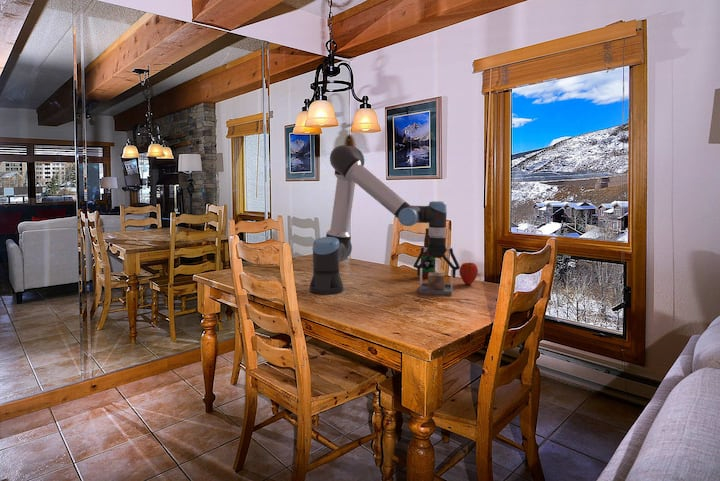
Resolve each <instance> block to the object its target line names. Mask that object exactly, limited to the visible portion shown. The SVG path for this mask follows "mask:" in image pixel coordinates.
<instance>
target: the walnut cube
mask: <svg viewBox="0 0 720 481" xmlns="http://www.w3.org/2000/svg"><path fill="white" fill-rule="evenodd" d="M427 283H428V290H436V291H444V284H445V273H444V272H435V273H432V272H429V274H428V279H427Z"/></svg>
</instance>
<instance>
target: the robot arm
mask: <svg viewBox="0 0 720 481" xmlns="http://www.w3.org/2000/svg"><path fill="white" fill-rule="evenodd" d="M329 161H330V165H331V166H332V168H333V169H334V176H335V178H336V185H335V191H334V192H335V194H334V201H333V207H332V213H331V221H330V229H329V230H328V231H326V236H323V237H319V238H316V239H314V240H313V242H312V248H311V249H312V270H313V272H312V276H311V280H310V283H309V292H310V293H312V294H318V295H334V294H338V293H339V294H340V293H342V292H344V284H343V281H342V277H341V274H340V263H342V262H344V261H345V260H347V259H348V258H349V256H350V255H351V253H352V250H353V246H352V242H351V238H352V235H351V234H350V232H349V230H350V223H351V217H352V211H353V210H352V208H353V203H354V202H353V201H354V193H355V188H356V185H357V186H359V187H360V188H361V189H362V190H363V191H365V192H366V193H367V194H368V195H370V196H371V197H372V198H373V199H374V200H376V202H378V203H379V204H380V205H381V206H383V207H384V208H385V209H386V210H387V211H388V212H390V213H391V214H392V215H393V216H395V217H396V218H397V219H398V222H399V223H400V224H401V225H402V226H404V227H412V226H414V225H416V224H428V228H429V236H430V237H429V241H428V248H425V247H424V246H422V247H421V248H420V253H419V255H418V256H417V258H416V261H415V262H414V263H413V268H415V269H416V270H417V272H416V274H417V276H418V277H419V284H420V285H421V284H422V283H423V278H422V268H421V267H422V266H423V265H424V264H425V262H426V261H427V260H428V259H429V258H430V257H433V258H435V259H436V258H438V259H440V258H442V259H443V260H444V261H445V262H446V264H448V265H449V267H450V268H451V269H450V284H451V285H453V283H454V282H453V281H454V280H453V278H454V279H455V278H456V271H457V270H460V267H461V265H460V264H459V262H458V260H457V258H456V255H455V254H454V249H453V247H449V248H447V247H446V245H447V242H446V241H447V240H446V239H447V238H446V235H447V214H448V213H447V203H446V202H445V201H439V200H438V201H434V200H432V201H429V204H428V205H411V204H410V203H408V202H407V201H406V200H405V199H403V198H402V197H401V196H400V195H398V194H397V193H396V192H395V191H394V190H393V189H391V188H390V187H389V186H387V184H385V183H384V182H383V181H382V180H381V179H379V178H378V177H377V176H376V175H375V174H373V172H371V171H369V170H368V169H367V168H366V167H365V155H364V153H363V152H362V150H360V149H359V148H357V147H354V146H349V145H345V144H344V145H343V144H341V145H338V146H336V147H334V148H333V149H332V150H331V152H330V154H329ZM426 250H427V251H428V252H429V255H428V256H427V257H426V258H425V259H424V260H423V261H422V262H421V257H422V255H423V253H424V252H425V251H426ZM446 253H449V255H450V257H451V259H452V261H453V263H452V262H451V260H450V259H449V258H448V257H447V255H446ZM419 262H420V263H419Z"/></svg>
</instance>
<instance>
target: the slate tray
mask: <svg viewBox="0 0 720 481" xmlns="http://www.w3.org/2000/svg"><path fill="white" fill-rule="evenodd" d="M452 293H453V285H451V283H450V284H449V283H444V291H436V290H428V282H422V284H420V286H419V288H418V295H430V296H431V295H432V296H449V297H450V296H451V297H452V295H453V294H452Z"/></svg>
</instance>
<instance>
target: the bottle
mask: <svg viewBox="0 0 720 481" xmlns="http://www.w3.org/2000/svg"><path fill="white" fill-rule="evenodd" d="M424 234H425V235H424V241H423V247H425V248H428V241H429V237H430V236H429V227H427V228H425V232H424ZM428 255H429V252H428V251H427V250H426V251H425V252H424V253H423V255H422V257H421V258H420V263H421V262H422V261H423V260H424V259H425V258H426V257H427V256H428ZM421 268H422V279H427V280H428V274H429V272H432V273H436V258H433V257H430V258H429V259H428V260H427V261H426V262H425V264H424V265H423V266H422V267H421Z"/></svg>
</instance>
